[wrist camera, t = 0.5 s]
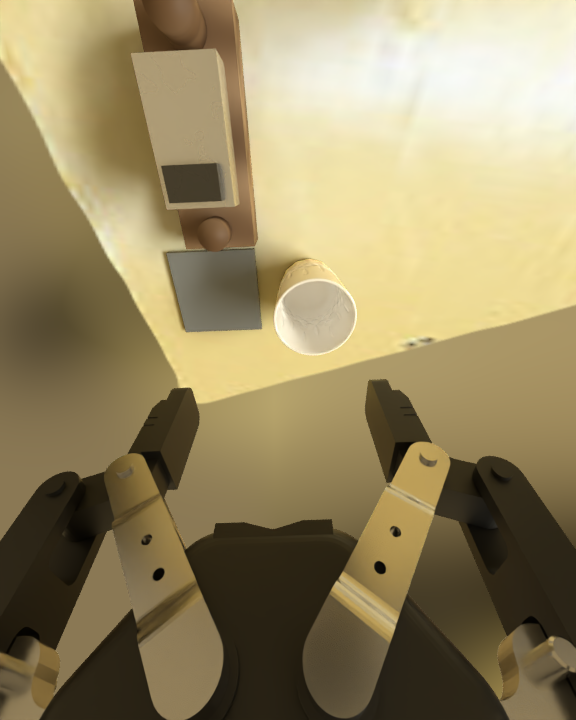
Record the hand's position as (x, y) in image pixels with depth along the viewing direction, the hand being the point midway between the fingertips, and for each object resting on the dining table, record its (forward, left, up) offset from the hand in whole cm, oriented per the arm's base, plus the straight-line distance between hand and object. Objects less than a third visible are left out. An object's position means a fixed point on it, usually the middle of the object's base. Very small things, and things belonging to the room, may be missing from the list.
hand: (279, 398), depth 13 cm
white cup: (+3, +3, -25) cm, 26 cm away
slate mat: (+3, -8, -25) cm, 27 cm away
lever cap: (-11, -6, -19) cm, 23 cm away
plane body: (-11, -6, -25) cm, 28 cm away
